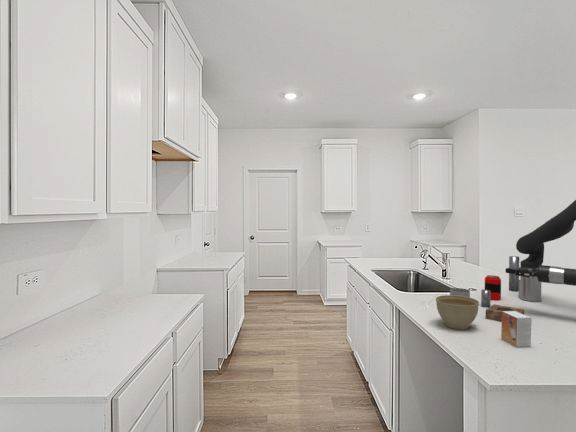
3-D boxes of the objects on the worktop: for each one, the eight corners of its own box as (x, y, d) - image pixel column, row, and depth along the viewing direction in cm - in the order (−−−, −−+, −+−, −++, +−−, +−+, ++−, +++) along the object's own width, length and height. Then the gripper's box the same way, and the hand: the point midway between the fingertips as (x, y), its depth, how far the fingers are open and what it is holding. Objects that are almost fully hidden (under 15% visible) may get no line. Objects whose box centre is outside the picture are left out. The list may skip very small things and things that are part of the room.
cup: (461, 314, 162) (461, 292, 162) (446, 310, 170) (446, 289, 169) (473, 312, 166) (473, 290, 166) (458, 307, 174) (458, 287, 173)
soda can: (497, 301, 185) (498, 278, 184) (482, 298, 190) (482, 276, 190) (503, 298, 190) (503, 276, 189) (487, 296, 195) (487, 274, 195)
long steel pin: (506, 289, 169) (507, 256, 168) (514, 289, 169) (514, 256, 169) (513, 291, 165) (513, 257, 164) (521, 291, 165) (521, 257, 165)
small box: (500, 339, 133) (501, 310, 132) (515, 338, 133) (515, 310, 133) (516, 347, 125) (516, 317, 124) (531, 346, 125) (531, 317, 125)
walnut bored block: (485, 318, 156) (485, 309, 156) (493, 312, 165) (493, 304, 165) (517, 325, 148) (517, 315, 148) (524, 318, 156) (524, 309, 156)
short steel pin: (479, 305, 177) (479, 289, 177) (486, 305, 178) (486, 289, 177) (484, 307, 173) (485, 291, 173) (492, 307, 174) (492, 291, 173)
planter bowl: (429, 319, 156) (429, 294, 155) (467, 319, 155) (467, 295, 155) (444, 332, 139) (445, 305, 139) (486, 332, 139) (487, 305, 139)
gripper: (554, 264, 161) (511, 260, 173) (548, 268, 151) (503, 263, 163) (554, 280, 161) (511, 275, 174) (548, 286, 151) (502, 280, 164)
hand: (507, 269), depth 168 cm, fingers closed on long steel pin, 4 cm apart
